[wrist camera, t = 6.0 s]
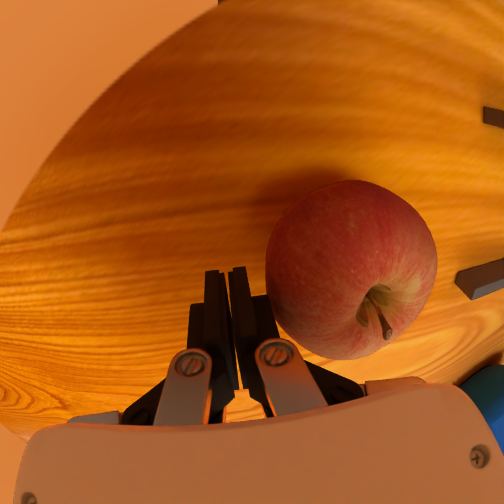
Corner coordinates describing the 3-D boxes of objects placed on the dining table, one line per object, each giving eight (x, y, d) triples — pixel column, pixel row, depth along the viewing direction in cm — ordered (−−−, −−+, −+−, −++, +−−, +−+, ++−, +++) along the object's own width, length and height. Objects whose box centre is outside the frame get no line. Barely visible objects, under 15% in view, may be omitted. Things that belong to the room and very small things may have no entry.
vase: (519, 342, 31) (568, 413, 14) (463, 407, 39) (497, 474, 22) (475, 352, 27) (539, 457, 10) (405, 427, 35) (441, 516, 19)
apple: (225, 273, 16) (245, 399, 9) (291, 136, 13) (388, 184, 6) (338, 304, 18) (392, 400, 12) (403, 200, 15) (499, 272, 8)
